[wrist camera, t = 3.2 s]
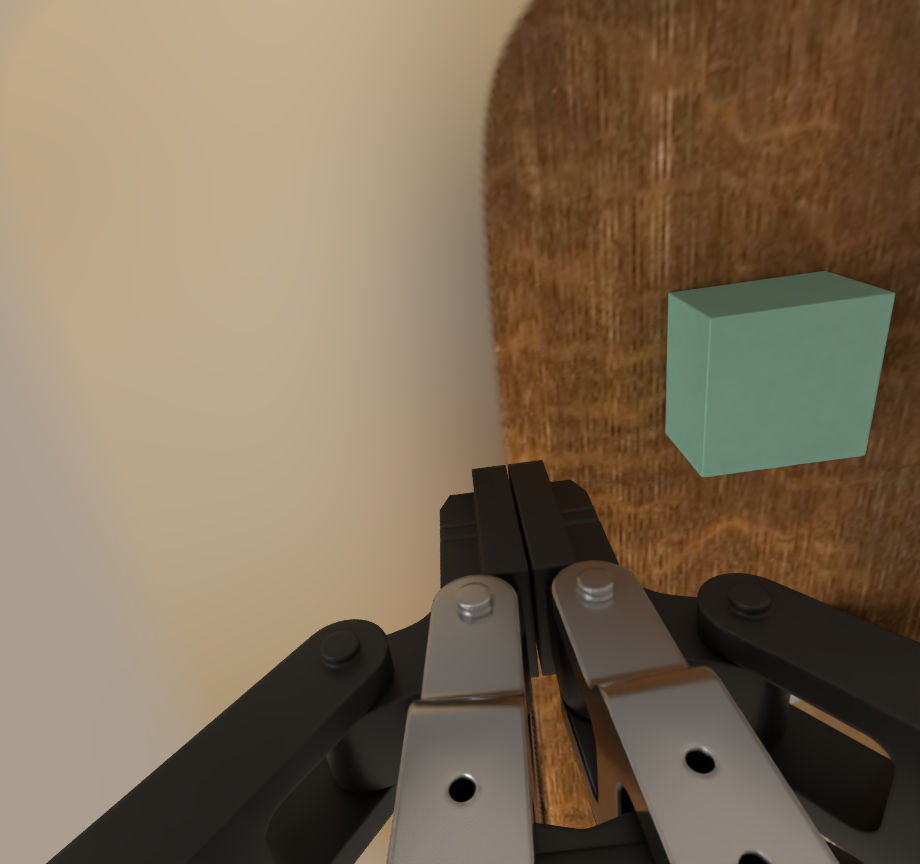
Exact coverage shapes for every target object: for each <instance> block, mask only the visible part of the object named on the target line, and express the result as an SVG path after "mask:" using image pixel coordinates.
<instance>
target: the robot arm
mask: <svg viewBox="0 0 920 864" xmlns="http://www.w3.org/2000/svg"><path fill="white" fill-rule="evenodd" d="M508 474H509V479H508ZM508 474H507V470H506V466H505V465H501V466H493V467H486V468H479V469H472V477H473V486H474V492H473V493H465V494H458V495H450V496H449V497H448V499H447V500H446V502H445V503H444V505H443V506H442V508H441V509H440V540H441V542H440V570H441V572H440V573H441V590H440V591H439V592H438V593H437V594H436V596H435V598H434V600H433V603H432V608H431V612H430V613H429V614H428V615H427V616H425V617H424V618H423V619H421V620H420V621H418V622H417V623H415V624H413V625H411V626H409V627H407V628H404V629H402V630H399V631H396V632H394V633H391V634H388V635H386V634H385V633H384V631H383V630H382V629H381V628H380V627H379V626H378V625H376V624H374V623H372V622H369V621H366V620H358V619H353V620H344V621H340V622H336V623H333V624H331V625H329V626H326V627H324V628H322V629H321V630H319V631H318V632H316V633H315V634H314V635H312V636H311V637H310V638H309V639H308V640H307V641H305V642H304V643H303V644H302V645H300V646H299V647H298V648H297V649H296V650H295V651H293V652H292V653H291V654H290V655H289V656H288V657H287V658H286V659H284V660H283V661H282V662H281V663H279V664H278V665H277V666H276V667H275V668H274V669H273V670H271V671H270V672H269V673H268V674H267V675H265V676H264V677H263V678H262V679H261V680H260V681H259V682H257V683H256V684H255V685H254V686H253V687H251V688H250V689H249V690H248V691H247V692H246V693H244V694H243V695H242V696H241V697H240V698H239V699H238V700H236V701H235V702H234V703H233V704H232V705H230V707H228V708H227V709H226V710H225V711H223V712H222V713H221V714H220V715H219V716H218V717H217V718H215V719H214V720H213V721H212V722H211V723H209V724H208V725H207V726H206V727H205V728H204V729H202V730H201V731H200V732H199V733H198V734H197V735H195V736H194V737H193V738H192V739H191V740H190V741H189V742H187V743H186V744H185V745H184V746H183V747H181V748H180V749H179V750H178V751H177V752H176V753H174V754H173V755H172V756H171V757H170V758H169V759H167V760H166V761H165V762H164V763H163V764H162V765H160V766H159V767H158V768H157V769H156V770H155V771H153V772H152V773H151V774H150V775H149V776H148V777H146V778H145V779H144V780H143V781H142V782H141V783H140V784H138V785H137V786H136V787H135V788H134V789H132V790H131V791H130V792H129V793H128V794H127V795H125V796H124V797H123V798H122V799H121V800H120V801H118V802H117V803H116V804H115V805H114V806H113V807H111V808H110V809H109V810H108V811H107V812H106V813H104V814H103V815H102V816H101V817H100V818H99V819H97V820H96V821H95V822H94V823H93V824H92V825H91V826H89V827H88V828H87V829H86V830H85V831H83V832H82V833H81V834H80V835H79V836H78V837H76V838H75V839H74V840H73V841H72V842H71V843H69V844H68V845H67V846H66V847H65V848H64V849H62V850H61V851H60V852H59V853H58V854H57V855H55V856H54V857H53V858H52V859H51V860H50V861H49V862H47V863H46V864H354V863H355V862H356V861H357V859H358V858H359V857H360V855H361V854H362V853H363V852H364V850H365V849H366V848H367V846H368V845H369V844H370V842H371V841H372V840H373V838H374V837H375V836H376V835H377V833H378V832H379V831H380V830H381V828H382V827H383V826H384V824H385V823H386V821H387V820H388V819H389V818H390V817H391V815H392V814H393V820H392V827H391V834H390V842H389V849H388V856H387V863H386V864H920V643H918V642H915V641H913V640H911V639H908V638H906V637H904V636H901V635H899V634H897V633H894V632H892V631H889V630H887V629H885V628H882V627H880V626H878V625H875V624H873V623H871V622H868V621H866V620H863V619H861V618H859V617H856V616H854V615H852V614H849V613H847V612H845V611H842V610H840V609H837V608H835V607H833V606H830V605H828V604H826V603H823V602H821V601H819V600H816V599H814V598H811V597H809V596H807V595H804V594H802V593H800V592H797V591H795V590H793V589H790V588H788V587H786V586H783V585H781V584H778V583H776V582H774V581H771V580H769V579H766V578H763V577H760V576H756V575H751V574H743V573H729V574H723V575H719V576H716V577H713V578H711V579H709V580H708V581H706V582H705V583H704V584H703V585H702V586H701V587H700V589H699V592H698V597H697V598H696V597H687V596H677V595H669V594H662V593H658V592H654V591H651V590H648V589H646V588H643V587H642V586H641V584H640V582H639V581H638V579H637V578H636V577H635V575H634V574H632V573H631V572H630V571H629V570H627V569H626V568H624V567H622V566H620V565H619V564H618V561H617V559H616V557H615V555H614V552H613V550H612V548H611V546H610V543H609V541H608V539H607V537H606V534H605V532H604V530H603V528H602V525H601V523H600V521H599V520H598V516H597V514H596V512H595V510H594V509H593V505H592V503H591V501H590V498H589V496H588V494H587V492H586V491H585V490H584V489H583V488H581V487H580V486H579V485H577V484H576V483H574V482H573V481H572V480H564V481H557V482H550V481H549V478H548V475H547V472H546V469H545V466H544V463H543V461H542V460H538V461H531V462H523V463H515V464H508ZM509 483H510V484H509ZM536 645H537V649H538V654H539V659H540V664H541V669H542V674H543V676H545V675H553V674H556V675H557V680H558V684H559V688H560V698H561V710H562V716H563V719H564V723H565V726H566V729H567V732H568V735H569V738H570V742H571V745H572V748H573V751H574V754H575V758H576V761H577V764H578V767H579V770H580V773H581V777H582V780H583V783H584V786H585V789H586V792H587V796H588V799H589V802H590V805H591V808H592V811H593V815H594V818H595V822H596V826H594V827H591V828H587V829H574V828H568V827H561V826H554V825H548V824H541V823H539V811H538V798H537V785H536V773H535V760H534V747H533V735H532V722H531V713H530V711H531V709H532V704H533V695H532V686H531V677H539V671H538V660H537V650H536ZM790 695H793V696H795V697H797V698H799V699H800V700H802V701H804V702H806V703H808V704H810V705H811V706H813V707H815V708H817V709H819V710H821V711H822V712H824V713H826V714H828V715H830V716H832V717H833V718H835V719H837V720H839V721H841V722H843V723H844V724H846V725H848V726H850V727H852V728H854V729H855V730H857V731H859V732H861V733H863V734H865V735H866V736H868V737H869V738H871V739H872V740H874V741H875V742H876V743H878V744H879V745H880V746H881V747H882V748H883V749H884V750H885V751H886V753H887V754H888V755H889V757H890V758H891V759H889V758H887V757H885V756H883V755H881V754H880V753H878V752H876V751H874V750H872V749H871V748H869V747H867V746H865V745H863V744H862V743H860V742H858V741H856V740H854V739H853V738H851V737H849V736H847V735H845V734H844V733H842V732H840V731H838V730H836V729H835V728H833V727H831V726H829V725H828V724H826V723H824V722H822V721H820V720H819V719H817V718H815V717H813V716H811V715H810V714H808V713H806V712H804V711H802V710H801V709H799V708H797V707H795V706H793V705H792V704H790V703H789V702H790ZM821 835H823V836H824V837H826V838H827V839H829V840H830V841H832V842H833V843H835V844H836V845H838V846H839V847H840V848H839V847H837V846H836V845H834V844H832V843H830V842H828V841H826V840H824V839H823V837H822V836H821ZM841 848H842V849H843V850H842V849H841ZM844 850H845V851H844ZM847 852H848V853H847Z"/></svg>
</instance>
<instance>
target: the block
mask: <svg viewBox="0 0 920 864" xmlns="http://www.w3.org/2000/svg"><path fill="white" fill-rule="evenodd" d="M894 299H895V293H894V292H891V291H888V290H885V289H881V288H878V287H875V286H872V285H869V284H866V283H862V282H859V281H856V280H853V279H850V278H847V277H843V276H840V275H837V274H834V273H831V272H827V271H820V272H813V273H806V274H799V275H791V276H784V277H777V278H770V279H763V280H756V281H749V282H741V283H734V284H727V285H720V286H713V287H706V288H699V289H691V290H684V291H677V292H670V293H669V294H668V337H667V384H666V431H665V433H666V434H667V435H668V437H669V438H670V439H671V440H672V441H673V443H674V444H675V445H676V446H677V448H678V449H679V450H680V451H681V452H682V454H683V455H684V456H685V457H686V459H687V460H688V461H689V462H690V463H691V465H692V466H693V467H694V468H695V469H696V471H697V472H698V473H699V474H700V476H701V477H710V476H717V475H724V474H732V473H739V472H747V471H754V470H761V469H769V468H776V467H784V466H791V465H798V464H806V463H813V462H821V461H828V460H835V459H843V458H850V457H858V456H864V455H865V454H866V449H867V444H868V438H869V433H870V428H871V422H872V417H873V411H874V406H875V401H876V395H877V390H878V385H879V379H880V374H881V369H882V363H883V358H884V352H885V347H886V342H887V336H888V331H889V326H890V320H891V315H892V310H893V304H894Z"/></svg>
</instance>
